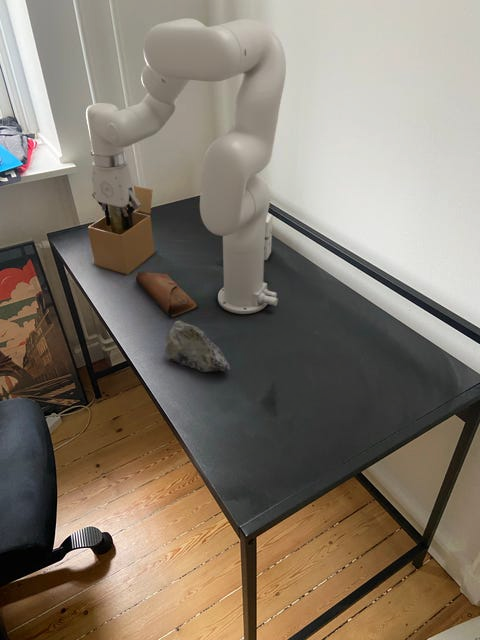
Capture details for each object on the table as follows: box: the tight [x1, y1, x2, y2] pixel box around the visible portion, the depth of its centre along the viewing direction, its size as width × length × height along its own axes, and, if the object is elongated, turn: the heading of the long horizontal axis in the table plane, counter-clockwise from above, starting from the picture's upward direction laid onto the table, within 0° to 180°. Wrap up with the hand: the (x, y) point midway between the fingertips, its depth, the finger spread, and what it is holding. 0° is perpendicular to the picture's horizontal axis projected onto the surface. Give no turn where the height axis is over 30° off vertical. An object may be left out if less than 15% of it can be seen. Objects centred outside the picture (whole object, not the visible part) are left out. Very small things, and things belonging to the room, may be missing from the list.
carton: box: [87, 211, 156, 275], centre depth 140 cm, size 13×11×11 cm
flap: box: [131, 185, 154, 214], centre depth 140 cm, size 6×11×1 cm
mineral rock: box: [165, 320, 232, 373], centre depth 105 cm, size 13×11×10 cm
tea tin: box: [107, 204, 130, 235], centre depth 135 cm, size 5×5×9 cm
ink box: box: [264, 213, 274, 261], centre depth 142 cm, size 9×5×12 cm, turn 73°
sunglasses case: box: [135, 271, 198, 318], centre depth 128 cm, size 18×7×7 cm
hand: (120, 225), depth 137 cm, fingers closed on tea tin, 4 cm apart
